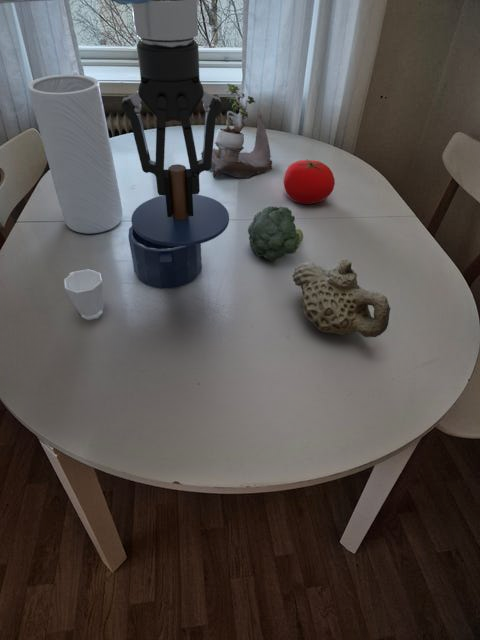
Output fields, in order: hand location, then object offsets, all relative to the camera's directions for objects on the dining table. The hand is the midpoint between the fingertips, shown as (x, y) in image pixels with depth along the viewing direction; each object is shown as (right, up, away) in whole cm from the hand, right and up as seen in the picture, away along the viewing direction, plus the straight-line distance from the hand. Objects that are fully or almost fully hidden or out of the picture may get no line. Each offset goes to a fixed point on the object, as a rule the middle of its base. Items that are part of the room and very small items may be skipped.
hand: (180, 211), depth 69 cm
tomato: (+28, +17, +53) cm, 62 cm away
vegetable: (+18, -1, +33) cm, 37 cm away
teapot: (+27, -19, +15) cm, 36 cm away
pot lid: (0, -1, +1) cm, 1 cm away
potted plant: (+9, +32, +68) cm, 76 cm away
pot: (-6, -6, +27) cm, 28 cm away
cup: (-21, -15, +16) cm, 30 cm away
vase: (-27, +8, +41) cm, 50 cm away
